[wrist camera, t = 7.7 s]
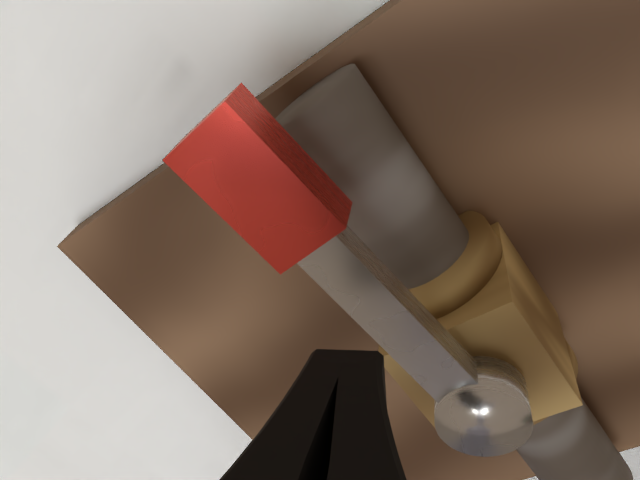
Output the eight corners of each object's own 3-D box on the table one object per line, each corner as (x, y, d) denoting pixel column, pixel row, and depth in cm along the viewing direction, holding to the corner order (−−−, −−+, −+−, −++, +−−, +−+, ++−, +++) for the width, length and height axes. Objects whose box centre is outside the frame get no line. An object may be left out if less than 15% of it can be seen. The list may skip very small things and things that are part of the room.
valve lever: (468, 432, 17) (471, 468, 16) (176, 143, 14) (156, 165, 13) (545, 399, 16) (552, 435, 15) (247, 76, 12) (231, 94, 11)
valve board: (932, 320, 19) (1092, 463, 14) (348, 501, 29) (332, 622, 24) (737, -251, 13) (906, -317, 8) (77, 225, 23) (-14, 316, 18)
